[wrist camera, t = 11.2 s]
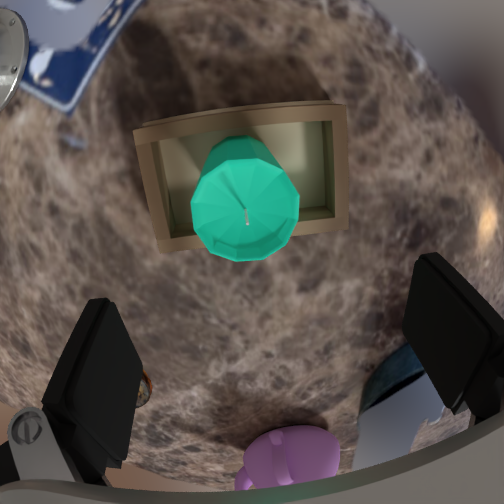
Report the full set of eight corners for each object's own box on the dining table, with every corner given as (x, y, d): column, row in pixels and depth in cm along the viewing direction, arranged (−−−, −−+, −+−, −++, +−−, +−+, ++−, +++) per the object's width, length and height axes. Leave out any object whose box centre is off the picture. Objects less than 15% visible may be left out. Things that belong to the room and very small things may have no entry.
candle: (242, 215, 28) (252, 295, 17) (189, 173, 26) (162, 231, 15) (289, 166, 26) (331, 217, 15) (236, 119, 24) (241, 136, 13)
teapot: (195, 431, 46) (193, 503, 34) (322, 399, 43) (342, 476, 31) (245, 472, 56) (249, 526, 44) (343, 447, 53) (357, 503, 41)
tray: (168, 237, 29) (160, 256, 26) (144, 122, 24) (132, 126, 21) (335, 216, 29) (348, 232, 26) (330, 100, 24) (345, 101, 21)
